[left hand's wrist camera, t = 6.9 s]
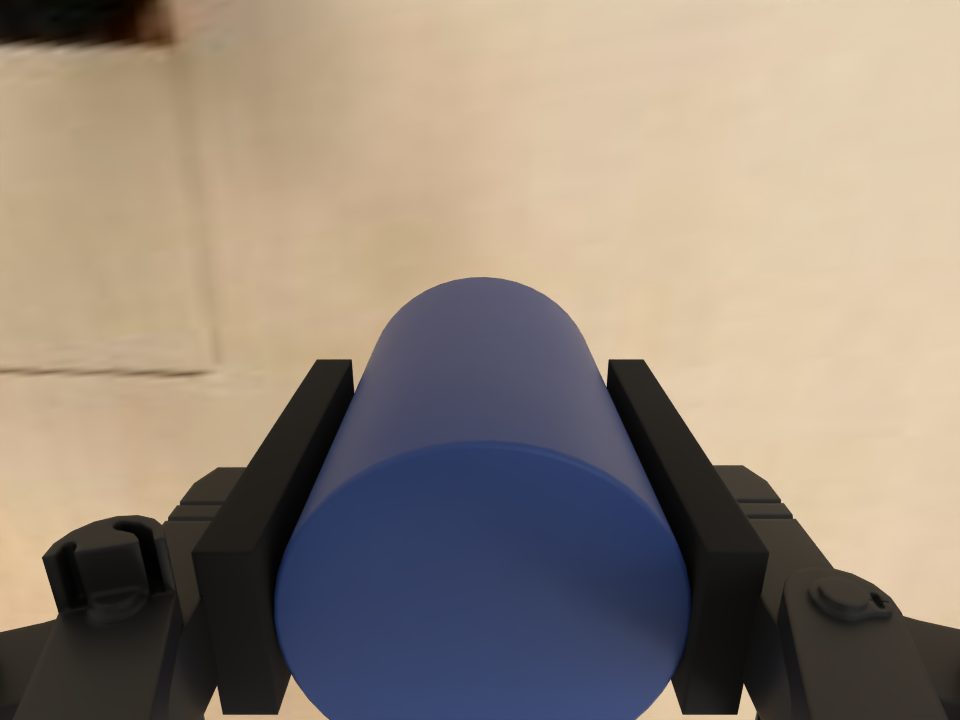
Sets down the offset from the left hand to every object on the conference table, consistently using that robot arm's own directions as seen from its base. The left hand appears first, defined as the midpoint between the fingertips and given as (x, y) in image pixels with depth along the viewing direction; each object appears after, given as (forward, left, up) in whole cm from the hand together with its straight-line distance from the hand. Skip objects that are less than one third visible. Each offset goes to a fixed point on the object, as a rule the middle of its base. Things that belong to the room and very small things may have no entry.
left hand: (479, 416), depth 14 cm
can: (0, 0, -2) cm, 2 cm away
